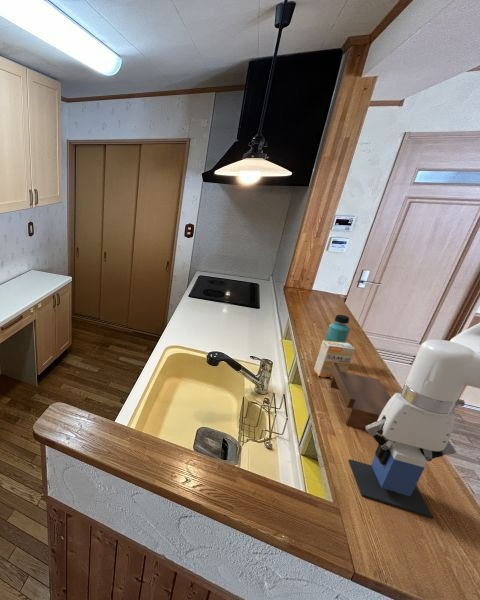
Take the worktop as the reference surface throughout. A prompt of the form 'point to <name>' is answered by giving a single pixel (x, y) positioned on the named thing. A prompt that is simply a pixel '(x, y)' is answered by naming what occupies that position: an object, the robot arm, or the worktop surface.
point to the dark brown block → (360, 397)
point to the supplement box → (333, 357)
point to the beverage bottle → (338, 329)
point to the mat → (386, 491)
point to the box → (400, 468)
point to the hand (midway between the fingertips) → (396, 464)
